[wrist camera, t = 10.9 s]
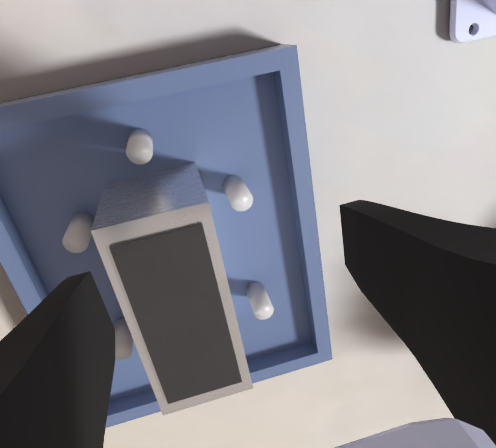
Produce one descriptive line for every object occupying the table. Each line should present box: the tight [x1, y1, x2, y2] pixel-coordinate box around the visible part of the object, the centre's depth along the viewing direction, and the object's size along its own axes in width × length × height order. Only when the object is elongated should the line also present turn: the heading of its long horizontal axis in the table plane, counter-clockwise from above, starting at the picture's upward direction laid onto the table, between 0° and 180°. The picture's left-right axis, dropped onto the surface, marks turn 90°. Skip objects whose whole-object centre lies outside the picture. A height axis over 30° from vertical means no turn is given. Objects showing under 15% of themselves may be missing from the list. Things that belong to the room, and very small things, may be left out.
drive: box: [91, 162, 253, 415], centre depth 18 cm, size 4×9×5 cm, turn 10°
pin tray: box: [0, 44, 332, 428], centre depth 20 cm, size 14×17×3 cm
